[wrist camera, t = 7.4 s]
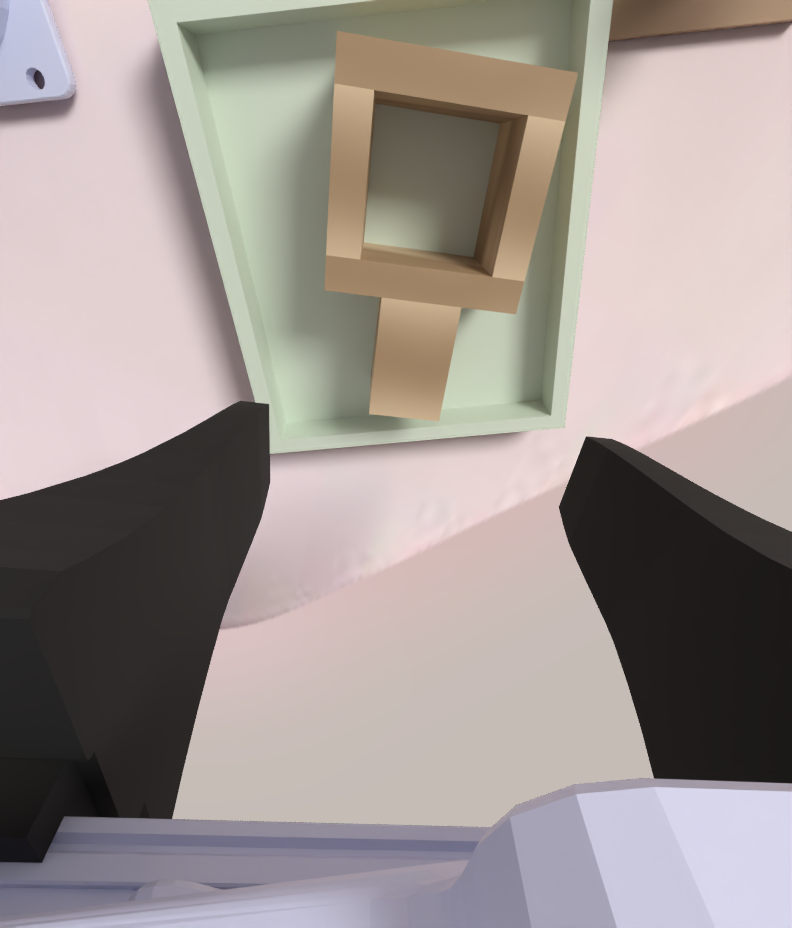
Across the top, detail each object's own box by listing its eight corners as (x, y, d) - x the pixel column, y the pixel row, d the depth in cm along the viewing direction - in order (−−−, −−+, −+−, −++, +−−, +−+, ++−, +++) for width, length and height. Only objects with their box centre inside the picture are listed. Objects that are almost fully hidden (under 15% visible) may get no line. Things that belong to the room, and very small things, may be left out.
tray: (277, 431, 22) (269, 454, 20) (173, 13, 14) (146, -6, 12) (549, 406, 21) (564, 427, 20) (590, -33, 14) (620, -60, 12)
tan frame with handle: (471, 387, 20) (486, 426, 17) (328, 371, 20) (318, 408, 17) (538, 89, 15) (578, 72, 12) (345, 56, 14) (336, 30, 11)
